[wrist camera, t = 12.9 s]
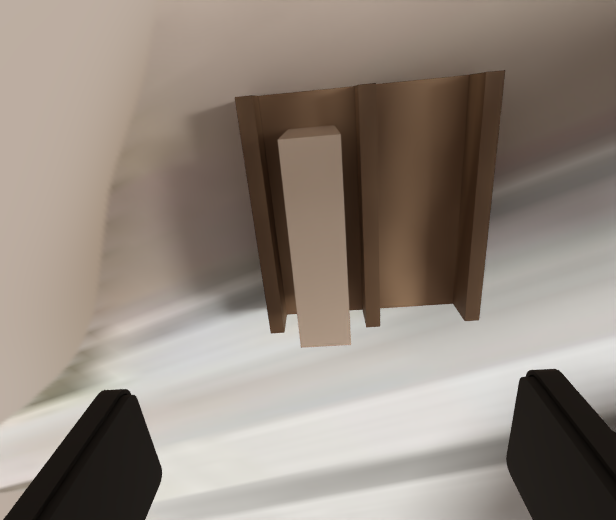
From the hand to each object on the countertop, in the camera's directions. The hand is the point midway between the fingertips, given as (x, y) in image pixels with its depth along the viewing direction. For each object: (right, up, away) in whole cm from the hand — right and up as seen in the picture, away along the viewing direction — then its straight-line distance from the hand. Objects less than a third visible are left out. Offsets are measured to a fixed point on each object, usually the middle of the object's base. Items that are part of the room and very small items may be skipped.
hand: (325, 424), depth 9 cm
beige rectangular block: (0, +7, +17) cm, 19 cm away
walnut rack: (+4, +8, +18) cm, 20 cm away
